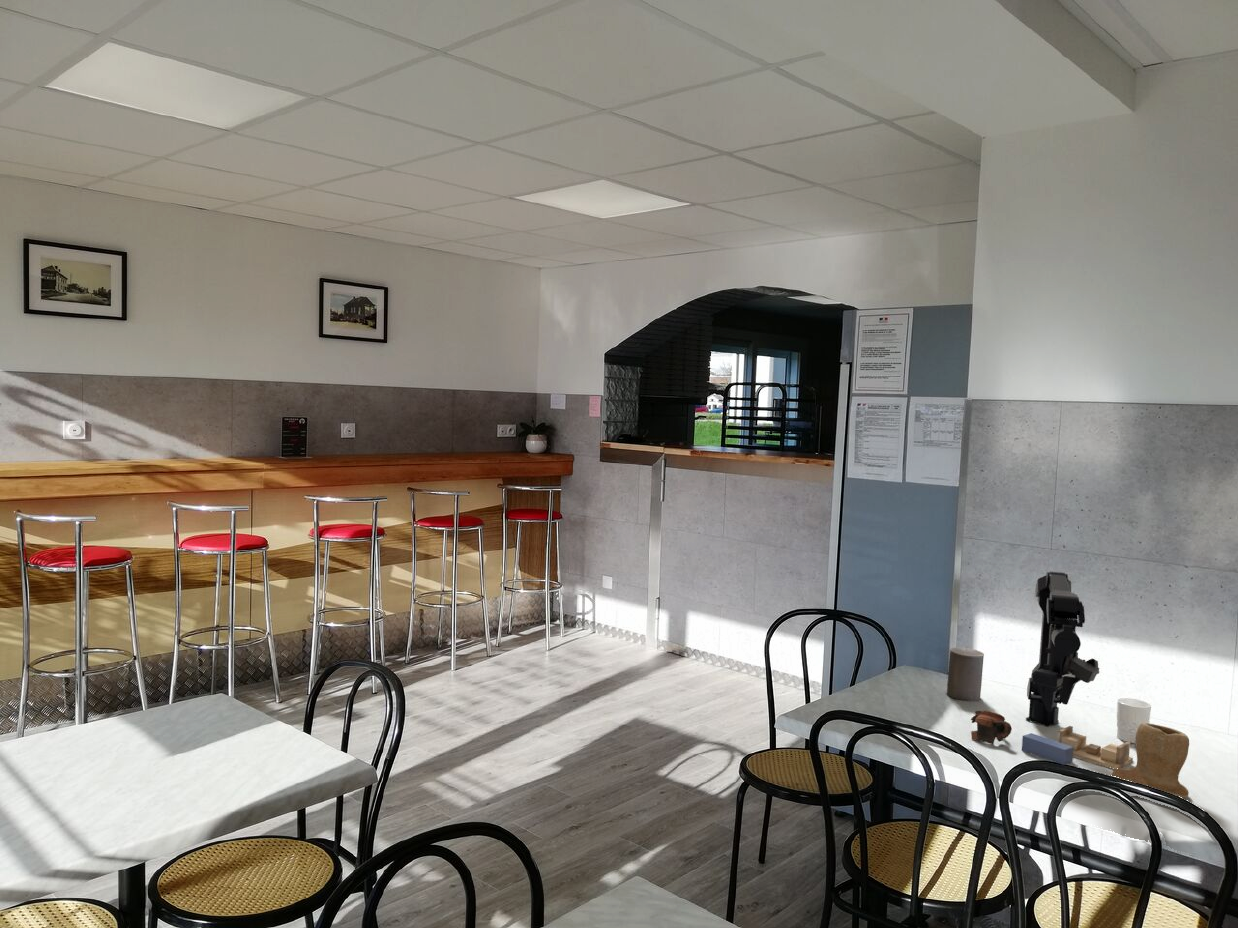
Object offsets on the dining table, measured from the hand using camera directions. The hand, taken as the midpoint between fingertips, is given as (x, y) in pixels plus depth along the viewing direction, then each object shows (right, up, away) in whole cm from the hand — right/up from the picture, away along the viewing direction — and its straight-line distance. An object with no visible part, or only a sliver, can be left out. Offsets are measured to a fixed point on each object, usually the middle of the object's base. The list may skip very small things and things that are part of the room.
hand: (1057, 707), depth 230 cm
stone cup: (+13, -14, -18) cm, 26 cm away
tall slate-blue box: (-2, -13, +1) cm, 13 cm away
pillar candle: (-5, -10, +48) cm, 50 cm away
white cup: (+27, -13, +16) cm, 34 cm away
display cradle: (+10, -13, +2) cm, 16 cm away
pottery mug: (-12, -12, +11) cm, 20 cm away
